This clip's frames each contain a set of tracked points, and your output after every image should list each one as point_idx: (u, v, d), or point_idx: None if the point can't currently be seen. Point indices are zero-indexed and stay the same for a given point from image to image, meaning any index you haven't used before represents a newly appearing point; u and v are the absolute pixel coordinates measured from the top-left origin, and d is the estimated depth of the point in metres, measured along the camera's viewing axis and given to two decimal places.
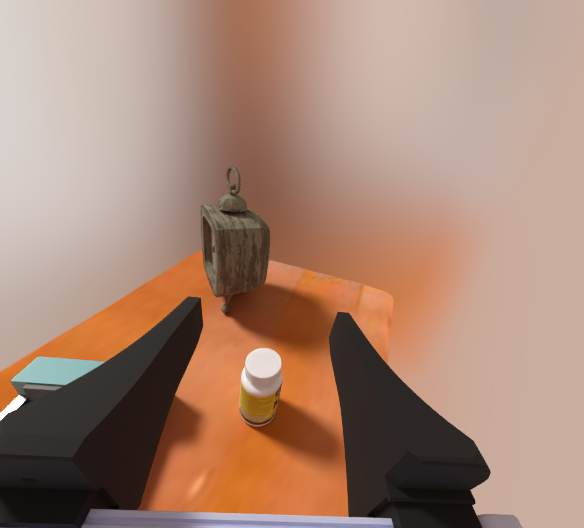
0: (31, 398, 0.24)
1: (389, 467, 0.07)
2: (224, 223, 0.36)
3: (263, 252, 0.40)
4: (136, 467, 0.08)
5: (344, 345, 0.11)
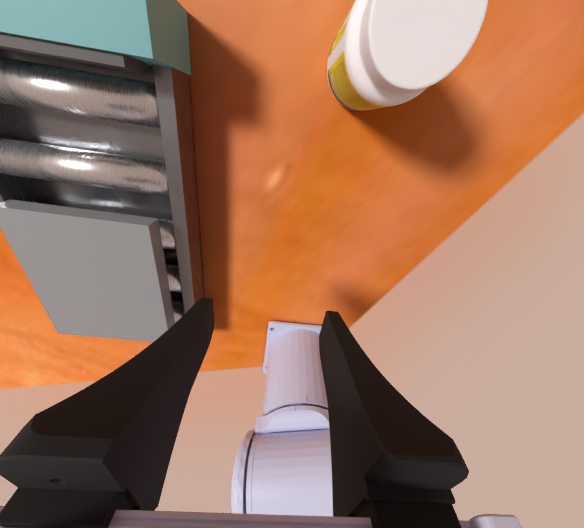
0: None
1: (368, 466, 0.06)
2: None
3: None
4: (155, 468, 0.08)
5: (332, 344, 0.11)
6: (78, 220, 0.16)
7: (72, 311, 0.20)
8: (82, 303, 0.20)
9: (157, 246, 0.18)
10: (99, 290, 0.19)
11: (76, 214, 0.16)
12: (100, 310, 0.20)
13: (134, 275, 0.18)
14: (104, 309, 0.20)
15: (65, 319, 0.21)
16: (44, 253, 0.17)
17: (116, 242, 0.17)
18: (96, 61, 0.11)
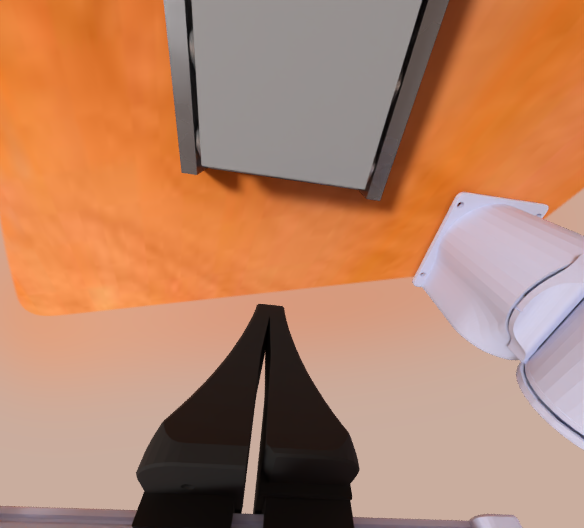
0: None
1: (263, 461, 0.06)
2: None
3: None
4: (246, 472, 0.08)
5: (269, 338, 0.11)
6: None
7: (241, 110, 0.12)
8: (263, 91, 0.12)
9: None
10: (303, 55, 0.11)
11: None
12: (286, 109, 0.12)
13: (377, 13, 0.11)
14: (293, 106, 0.12)
15: (223, 131, 0.13)
16: None
17: None
18: None
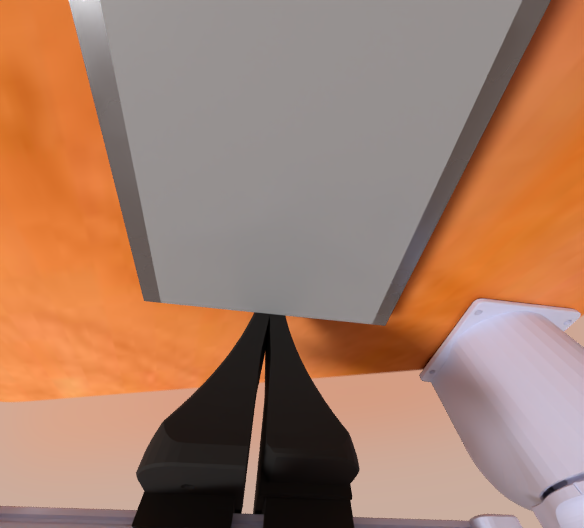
0: None
1: (263, 461, 0.06)
2: None
3: None
4: (246, 472, 0.08)
5: (269, 338, 0.11)
6: None
7: (209, 250, 0.09)
8: (237, 230, 0.09)
9: None
10: (291, 194, 0.08)
11: None
12: (269, 249, 0.09)
13: (395, 148, 0.07)
14: (278, 246, 0.09)
15: (186, 271, 0.10)
16: (195, 66, 0.06)
17: (413, 18, 0.06)
18: None
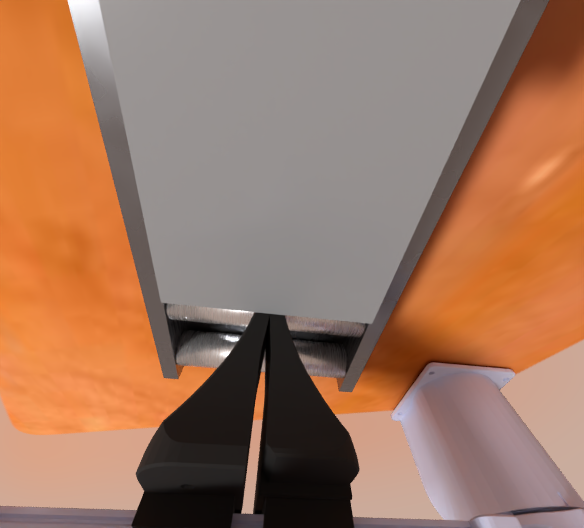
0: None
1: (263, 461, 0.06)
2: None
3: None
4: None
5: (268, 338, 0.11)
6: None
7: (208, 250, 0.09)
8: (236, 230, 0.09)
9: None
10: (290, 193, 0.08)
11: None
12: (269, 248, 0.09)
13: (395, 147, 0.07)
14: (278, 246, 0.09)
15: (186, 271, 0.10)
16: (194, 66, 0.06)
17: (411, 18, 0.06)
18: None
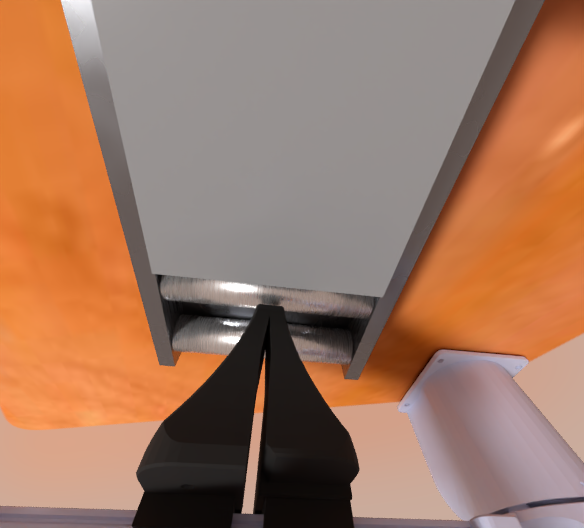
0: None
1: (263, 461, 0.06)
2: None
3: None
4: (246, 472, 0.08)
5: (268, 338, 0.11)
6: None
7: (202, 209, 0.08)
8: (233, 185, 0.08)
9: None
10: (294, 138, 0.07)
11: None
12: (270, 207, 0.08)
13: (414, 78, 0.06)
14: (280, 204, 0.08)
15: (178, 235, 0.09)
16: None
17: None
18: None
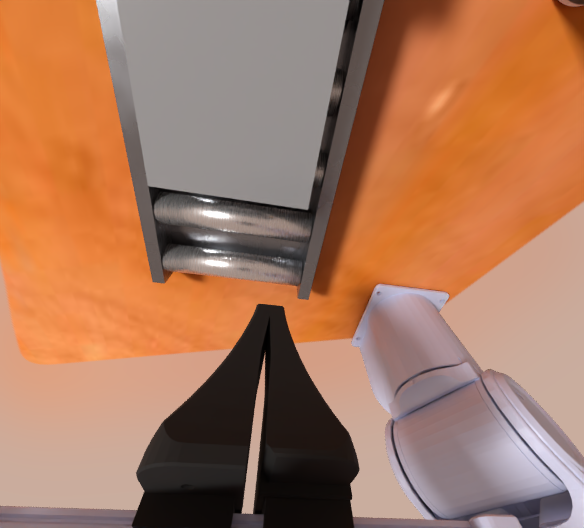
0: None
1: (263, 461, 0.06)
2: None
3: None
4: (246, 472, 0.08)
5: (268, 338, 0.11)
6: None
7: (181, 136, 0.13)
8: (200, 118, 0.13)
9: None
10: (235, 87, 0.12)
11: None
12: (224, 135, 0.13)
13: (301, 51, 0.11)
14: (231, 133, 0.13)
15: (165, 155, 0.14)
16: None
17: None
18: None
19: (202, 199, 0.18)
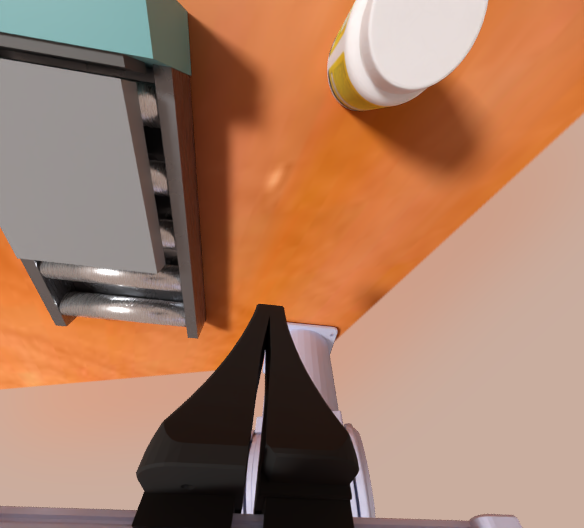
0: None
1: (263, 461, 0.06)
2: None
3: None
4: (246, 472, 0.08)
5: (269, 338, 0.11)
6: (25, 68, 0.12)
7: (32, 223, 0.16)
8: (43, 211, 0.15)
9: (135, 123, 0.14)
10: (63, 190, 0.15)
11: None
12: (67, 222, 0.16)
13: (107, 165, 0.14)
14: (72, 221, 0.16)
15: (24, 236, 0.16)
16: None
17: (79, 107, 0.13)
18: (96, 61, 0.11)
19: None
